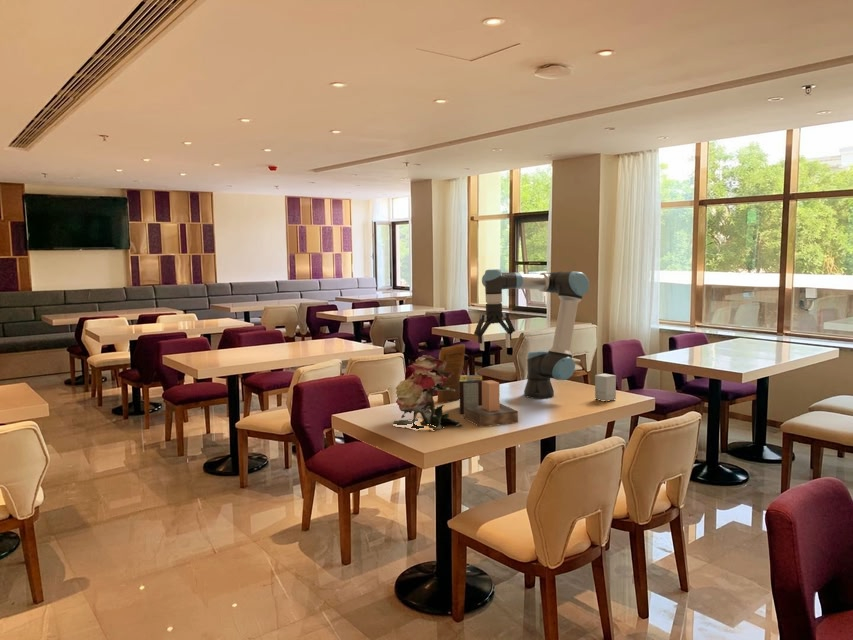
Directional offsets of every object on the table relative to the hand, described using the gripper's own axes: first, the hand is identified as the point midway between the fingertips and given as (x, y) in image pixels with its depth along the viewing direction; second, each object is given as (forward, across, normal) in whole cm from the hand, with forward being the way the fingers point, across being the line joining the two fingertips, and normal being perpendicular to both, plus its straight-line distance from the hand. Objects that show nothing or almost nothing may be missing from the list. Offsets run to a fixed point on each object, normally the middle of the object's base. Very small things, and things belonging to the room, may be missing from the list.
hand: (495, 349), depth 291 cm
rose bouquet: (+28, +41, +10) cm, 51 cm away
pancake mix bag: (+29, +10, -28) cm, 42 cm away
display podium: (+28, +12, +16) cm, 35 cm away
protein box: (+29, +11, -4) cm, 31 cm away
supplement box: (+31, -58, +5) cm, 66 cm away
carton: (+23, +12, +16) cm, 30 cm away
